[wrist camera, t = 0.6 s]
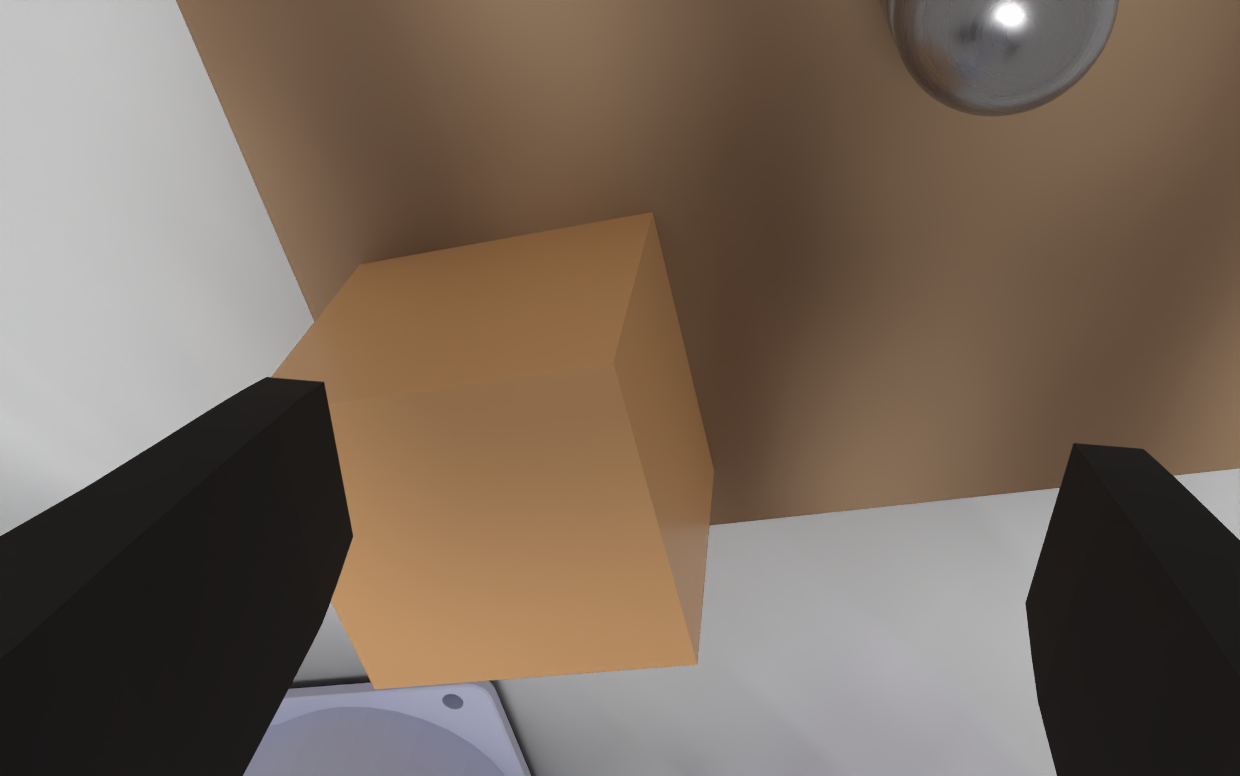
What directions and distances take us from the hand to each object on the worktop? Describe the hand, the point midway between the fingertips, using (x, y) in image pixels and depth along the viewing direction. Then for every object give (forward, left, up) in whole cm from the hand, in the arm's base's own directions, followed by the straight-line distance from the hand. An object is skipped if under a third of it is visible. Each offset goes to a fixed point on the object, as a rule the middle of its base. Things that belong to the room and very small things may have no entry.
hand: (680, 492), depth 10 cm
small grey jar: (+4, +3, -8) cm, 10 cm away
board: (0, 0, -9) cm, 9 cm away
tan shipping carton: (-4, -3, -8) cm, 9 cm away
